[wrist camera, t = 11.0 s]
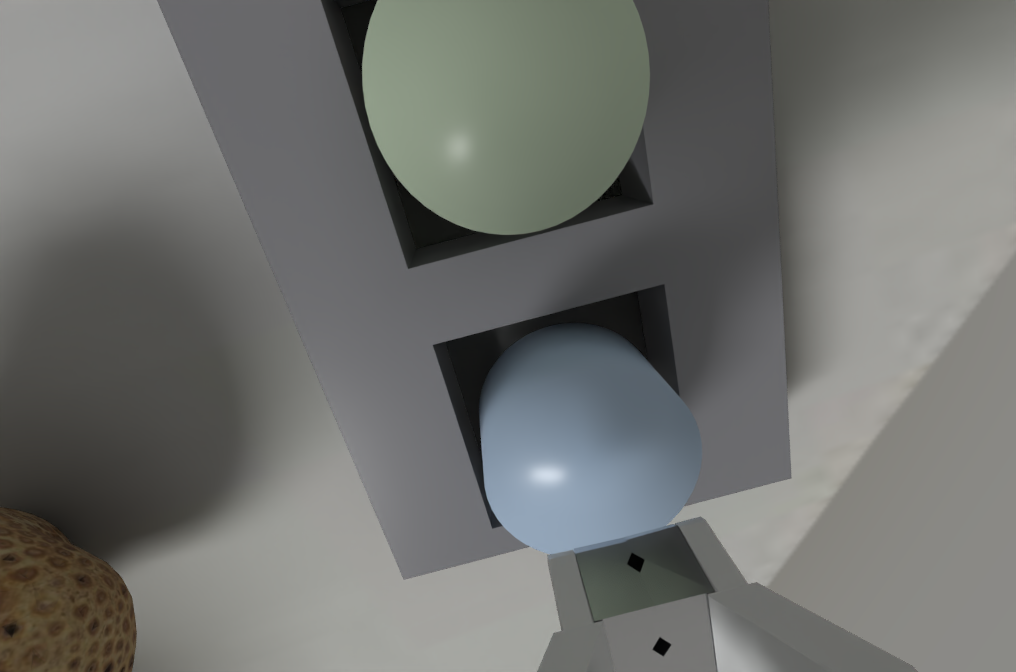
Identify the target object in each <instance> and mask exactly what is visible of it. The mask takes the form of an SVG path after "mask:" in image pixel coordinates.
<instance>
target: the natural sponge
mask: <svg viewBox="0 0 1016 672" xmlns="http://www.w3.org/2000/svg"><path fill="white" fill-rule="evenodd" d="M136 635H137V631H136V622H135V614H134V607H133V601H132V596H131V594H130V593H129V591H128V589H127V587H126V585H125V583H124V581H123V579H122V578H121V576H120V575H119V574H118V573H117V572H116V571H115V570H114V569H113V568H112V567H111V566H110V565H109V564H108V563H107V562H105V561H103V560H101V559H99V558H98V557H96V556H94V555H92V554H90V553H88V552H86V551H85V550H83V549H81V548H79V547H77V546H74V545H72V544H71V543H70V542H69V540H68V539H67V538H66V536H65V535H64V534H63V533H62V532H61V531H60V530H59V529H58V528H56V527H55V526H53V525H52V524H51V523H49V522H48V521H46V520H44V519H42V518H39V517H37V516H35V515H33V514H30V513H26V512H22V511H18V510H15V509H9V508H3V507H0V672H132V667H133V662H134V655H135V648H136Z"/></svg>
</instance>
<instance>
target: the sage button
mask: <svg viewBox="0 0 1016 672" xmlns="http://www.w3.org/2000/svg"><path fill="white" fill-rule="evenodd" d="M362 86H363V93H364V101H365V108H366V112H367V115H368V119H369V123H370V127H371V130H372V132H373V135H374V137H375V140H376V143H377V145H378V147H379V149H380V151H381V153H382V155H383V157H384V159H385V161H386V162H387V164H388V166H389V167H390V169H391V170H392V171H393V173H394V174H395V176H396V177H397V179H398V180H399V181H400V182H401V183H402V184H403V186H404V187H405V188H406V189H407V190H408V191H409V192H410V193H411V194H412V195H413V196H414V197H415V198H416V199H417V200H418V201H420V202H421V203H422V204H423V205H424V206H425V207H427V208H428V209H430V210H431V211H433V212H434V213H436V214H437V215H439V216H440V217H442V218H444V219H446V220H448V221H450V222H452V223H454V224H456V225H459V226H462V227H465V228H468V229H471V230H474V231H479V232H484V233H488V234H500V235H515V234H526V233H531V232H536V231H541V230H544V229H547V228H550V227H553V226H556V225H558V224H560V223H562V222H564V221H566V220H569V219H571V218H573V217H574V216H576V215H577V214H579V213H580V212H582V211H583V210H585V209H586V208H588V207H589V206H590V205H591V204H592V203H594V202H595V201H596V200H597V199H598V198H599V197H601V196H602V194H603V193H604V192H605V191H606V190H607V189H608V188H609V187H610V186H611V185H612V184H613V182H614V181H615V180H616V178H617V177H618V175H619V174H620V173H621V171H622V170H623V169H624V167H625V165H626V163H627V161H628V160H629V158H630V156H631V154H632V152H633V150H634V148H635V146H636V143H637V141H638V138H639V136H640V133H641V130H642V126H643V123H644V119H645V116H646V110H647V104H648V98H649V86H650V66H649V53H648V47H647V42H646V37H645V32H644V29H643V26H642V22H641V19H640V16H639V13H638V11H637V8H636V6H635V4H634V2H633V0H378V1H377V3H376V6H375V8H374V11H373V14H372V16H371V19H370V22H369V26H368V30H367V35H366V39H365V44H364V53H363V62H362Z"/></svg>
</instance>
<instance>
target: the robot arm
mask: <svg viewBox="0 0 1016 672" xmlns="http://www.w3.org/2000/svg"><path fill="white" fill-rule="evenodd" d="M547 559H548V566H549V571H550V576H551V581H552V586H553V591H554V596H555V601H556V606H557V611H558V615H559V620H560V625H561V630H562V631H560V632H556V633H554V634H553V636H552V638H551V641H550V643H549V645H548V648H547V650H546V652H545V655H544V657H543V659H542V662H541V664H540V666H539V669H538V671H537V672H918V671H917V670H916V669H915V668H914V667H913V666H912V665H910V664H908V663H906V662H904V661H903V660H901V659H899V658H897V657H895V656H893V655H891V654H889V653H888V652H886V651H884V650H882V649H880V648H878V647H876V646H874V645H873V644H871V643H869V642H867V641H865V640H863V639H861V638H860V637H858V636H856V635H854V634H852V633H850V632H848V631H846V630H845V629H843V628H841V627H839V626H837V625H835V624H834V623H832V622H830V621H828V620H826V619H824V618H822V617H820V616H819V615H817V614H815V613H813V612H811V611H809V610H807V609H805V608H803V607H802V606H800V605H798V604H796V603H794V602H793V601H791V600H789V599H787V598H785V597H783V596H781V595H779V594H778V593H775V592H774V591H772V590H770V589H768V588H766V587H765V586H763V585H761V584H759V583H757V582H756V583H751V584H748V583H747V581H746V580H745V578H744V577H743V575H742V574H741V572H740V571H739V569H738V568H737V566H736V565H735V563H734V562H733V560H732V559H731V557H730V556H729V554H728V553H727V551H726V550H725V548H724V547H723V545H722V544H721V542H720V541H719V539H718V538H717V536H716V535H715V533H714V532H713V530H712V529H711V527H710V526H709V524H708V523H707V521H706V520H705V519H703V518H702V517H697V518H694V519H690V520H686V521H682V522H679V523H675V525H674V524H672V525H668V526H664V527H660V528H657V529H653V530H649V531H645V532H641V533H637V534H634V535H630V536H626V537H623V538H619V539H614V540H610V541H605V542H601V543H597V544H592V545H588V546H583V547H579V548H574V551H573V550H569V551H564V552H559V553H555V554H550V555H547Z"/></svg>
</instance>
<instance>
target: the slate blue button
mask: <svg viewBox="0 0 1016 672" xmlns="http://www.w3.org/2000/svg"><path fill="white" fill-rule="evenodd" d="M479 419H480V433H481V446H482V459H483V473H484V486H485V491H486V495H487V499H488V502H489V504H490V506H491V509H492V511H493V513H494V514H495V516H496V517H497V519H498V521H499V522H500V523H501V524H502V525H503V527H504V528H505V529H506V530H507V531H508V532H509V533H511V534H512V535H513V536H514V537H515V538H517V539H518V540H520V541H521V542H523V543H524V544H526V545H528V546H530V547H532V548H534V549H536V550H539V551H542V552H544V553H547V554H555V553H559V552H564V551H569V550H573V551H574V548H579V547H583V546H588V545H592V544H597V543H601V542H605V541H610V540H614V539H619V538H623V537H626V536H630V535H634V534H637V533H641V532H645V531H649V530H653V529H657V528H660V527H664V526H666V525H667V524H668V523H669V522H671V521H672V519H673V518H674V517H675V516H676V515H677V514H678V513H679V512H680V510H681V509H682V508H683V506H684V505H685V504H686V502H687V501H688V499H689V497H690V495H691V494H692V492H693V490H694V487H695V485H696V482H697V480H698V477H699V473H700V469H701V463H702V441H701V436H700V431H699V428H698V426H697V423H696V420H695V418H694V416H693V415H692V413H691V411H690V409H689V408H688V407H687V405H686V404H685V403H684V402H683V401H682V399H681V398H680V397H679V396H678V395H677V394H676V392H675V391H674V390H673V389H672V388H671V387H670V386H669V384H668V383H667V382H666V381H665V380H664V379H663V378H662V377H661V375H660V374H659V373H658V372H657V371H656V370H655V369H654V367H653V366H652V365H651V364H650V363H649V362H648V361H647V360H646V358H645V357H644V356H643V355H642V354H641V353H640V352H639V350H638V349H637V348H636V347H635V346H634V345H633V344H632V343H630V342H629V341H628V340H627V339H625V338H624V337H622V336H621V335H619V334H618V333H615V332H613V331H611V330H609V329H607V328H604V327H600V326H597V325H592V324H586V323H563V324H557V325H552V326H548V327H545V328H542V329H539V330H536V331H534V332H532V333H530V334H528V335H526V336H524V337H523V338H521V339H520V340H518V341H516V342H515V343H514V344H513V345H511V346H510V347H509V348H508V349H506V350H505V352H504V353H503V354H502V355H501V356H500V357H499V358H498V359H497V361H496V362H495V363H494V365H493V366H492V367H491V369H490V371H489V373H488V375H487V377H486V379H485V381H484V384H483V387H482V390H481V395H480V400H479Z"/></svg>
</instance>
